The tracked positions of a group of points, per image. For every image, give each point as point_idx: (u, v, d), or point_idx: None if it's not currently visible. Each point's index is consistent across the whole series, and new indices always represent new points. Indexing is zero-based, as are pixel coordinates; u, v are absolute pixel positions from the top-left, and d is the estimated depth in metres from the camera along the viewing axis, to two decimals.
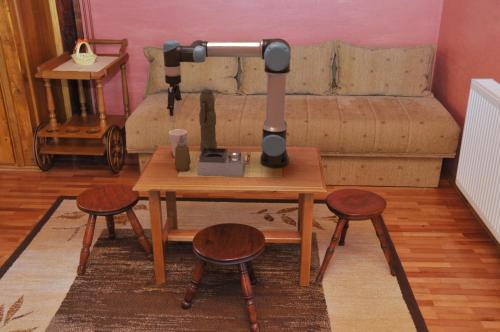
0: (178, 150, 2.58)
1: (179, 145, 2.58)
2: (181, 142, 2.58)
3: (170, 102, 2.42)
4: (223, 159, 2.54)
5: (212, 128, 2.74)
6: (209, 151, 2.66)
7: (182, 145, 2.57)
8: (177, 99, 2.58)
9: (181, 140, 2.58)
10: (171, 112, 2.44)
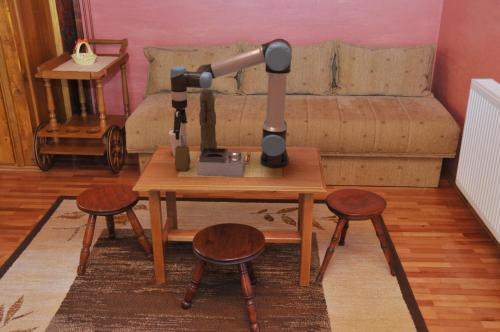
0: (178, 150, 2.58)
1: None
2: (181, 142, 2.58)
3: (177, 127, 2.46)
4: (223, 159, 2.54)
5: (212, 128, 2.74)
6: (209, 151, 2.66)
7: (182, 145, 2.57)
8: (183, 122, 2.62)
9: (181, 140, 2.58)
10: (177, 136, 2.49)
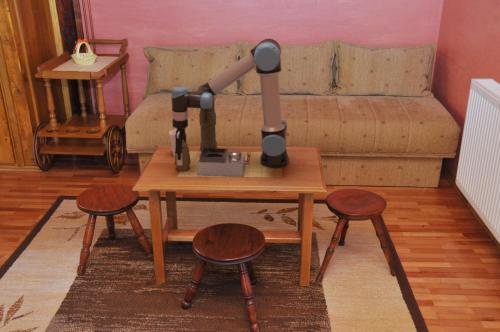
0: None
1: None
2: None
3: (178, 148, 2.52)
4: (223, 159, 2.54)
5: (212, 128, 2.74)
6: (209, 151, 2.66)
7: (182, 145, 2.57)
8: None
9: None
10: (179, 156, 2.56)
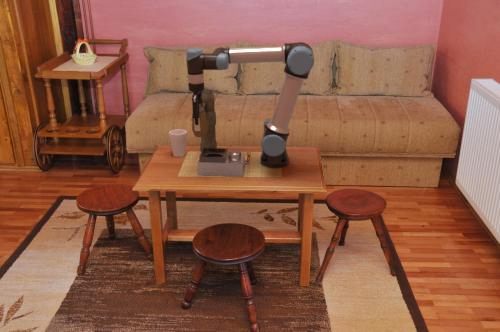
0: None
1: None
2: None
3: (195, 112, 2.45)
4: (223, 159, 2.54)
5: (212, 128, 2.74)
6: (209, 151, 2.66)
7: (199, 110, 2.50)
8: None
9: None
10: (197, 121, 2.48)
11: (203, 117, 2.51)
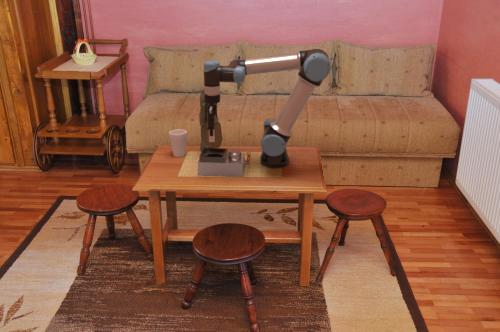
0: None
1: None
2: None
3: (211, 124, 2.46)
4: (223, 159, 2.54)
5: None
6: (209, 151, 2.66)
7: (214, 121, 2.51)
8: None
9: None
10: (211, 132, 2.49)
11: (218, 128, 2.52)
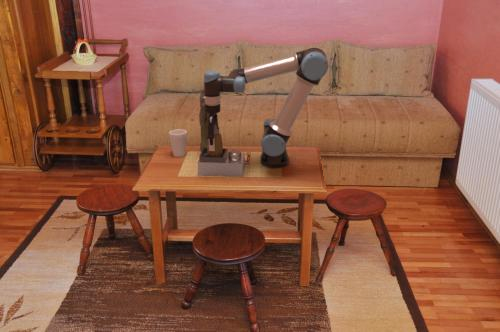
0: None
1: None
2: (214, 129, 2.54)
3: (211, 133, 2.47)
4: (223, 159, 2.54)
5: None
6: None
7: (215, 132, 2.53)
8: None
9: None
10: (211, 141, 2.50)
11: (219, 139, 2.54)
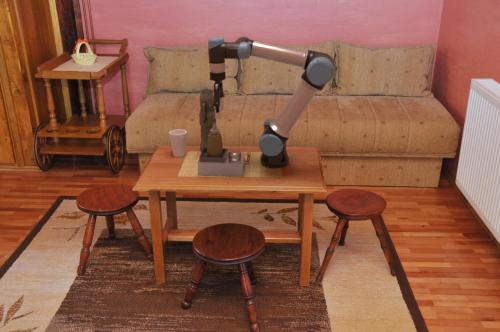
0: (211, 137, 2.54)
1: (212, 132, 2.53)
2: (214, 129, 2.54)
3: (217, 99, 2.41)
4: (223, 159, 2.54)
5: None
6: None
7: (215, 132, 2.53)
8: (220, 96, 2.57)
9: (214, 127, 2.54)
10: (217, 108, 2.44)
11: (219, 139, 2.54)
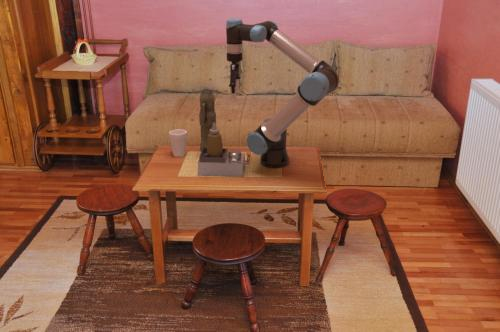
0: (211, 137, 2.54)
1: (212, 132, 2.54)
2: (214, 129, 2.54)
3: (233, 80, 2.43)
4: (223, 159, 2.54)
5: None
6: None
7: (215, 132, 2.53)
8: (236, 78, 2.60)
9: (214, 127, 2.54)
10: (233, 89, 2.46)
11: (218, 139, 2.54)
